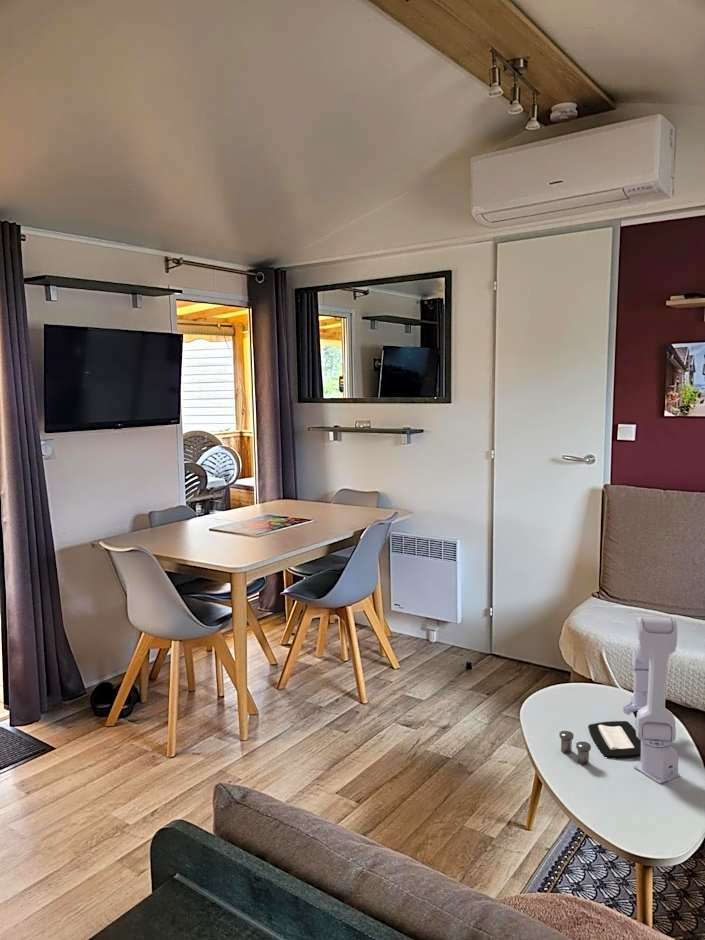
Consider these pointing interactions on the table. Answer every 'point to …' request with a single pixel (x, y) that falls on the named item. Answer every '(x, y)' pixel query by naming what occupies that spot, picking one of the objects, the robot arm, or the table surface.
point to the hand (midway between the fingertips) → (642, 730)
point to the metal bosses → (581, 746)
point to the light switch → (616, 739)
